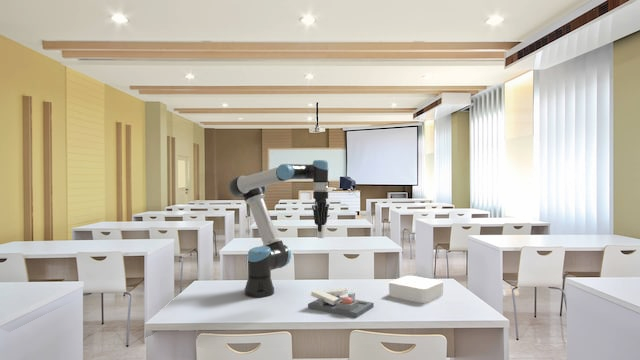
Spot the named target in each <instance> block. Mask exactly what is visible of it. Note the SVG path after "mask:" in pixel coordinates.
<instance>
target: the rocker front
mask: <svg viewBox="0 0 640 360" xmlns="http://www.w3.org/2000/svg"><path fill="white" fill-rule="evenodd" d="M310 296H311V297H313V298H315V299H316V300H317V299H319V298H321V299H324V302H327V303H329V304H331V305H334V304H336V303H337V302H339V298H338V297H335V296H333V295H330V294H328V293H326V292H323V290H321V289H318V288H317V289H314V290H313V291H311V294H310Z"/></svg>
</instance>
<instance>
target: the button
mask: <svg viewBox="0 0 640 360" xmlns="http://www.w3.org/2000/svg"><path fill="white" fill-rule="evenodd" d="M342 297H343V296H342ZM342 303H344V304H352V298H351V297H348V296H344V297H343V298H342Z"/></svg>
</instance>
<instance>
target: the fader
mask: <svg viewBox="0 0 640 360" xmlns="http://www.w3.org/2000/svg"><path fill="white" fill-rule="evenodd" d="M347 297H351V298H352V300H356V293H355V292H349V293H347Z"/></svg>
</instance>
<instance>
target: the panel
mask: <svg viewBox="0 0 640 360" xmlns="http://www.w3.org/2000/svg"><path fill="white" fill-rule="evenodd" d="M330 295H332V294H330ZM335 297H338V298H339V302H337V303H336V304H334V305H331V304H329V303H327V302H324V299H321V298H319V299H317V298H316V299H315V300H313V301H311V302H309V303H308V304H307V308H308V309H311V310H317V311H321V312H326V313H331V314H336V315H341V316H347V317H350V318H355V319H356V318H359V317H360V316H362V315H363V314H366V312H368V311H369V310H372V309H373V308H374V304H375V303H374V302H372V301H371V302H370V301H365V300H360V299H355V300H352V304H344V303H342V298H343V296H335Z"/></svg>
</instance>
